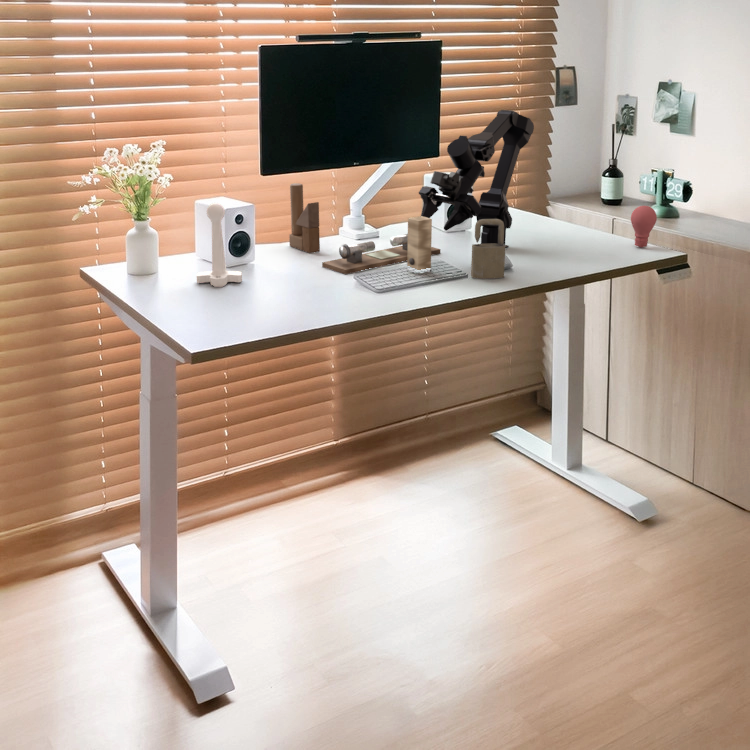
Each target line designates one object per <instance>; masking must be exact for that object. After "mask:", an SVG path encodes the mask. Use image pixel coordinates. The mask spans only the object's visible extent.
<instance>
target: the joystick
mask: <svg viewBox="0 0 750 750" xmlns="http://www.w3.org/2000/svg"><path fill="white" fill-rule="evenodd" d="M225 214H226V211H225V208H224V206H223V205H222V204H220V203H218V202H214V203H213V202H212V203H211V204H209V205H208V207H207V208H206V215H207V217H208V219H209V220H210V223H211V270H210V271H199V272H197V273H196V282H197V284H200V283H201V284H202V283H210V285H211V286H212V285H213V286H214V288H222V287H225V286H226V285H227V283H242V282H243V272H242V271H237V270H227V262H226V257H225V256H226V255H225V246H224V245H225V244H224V237H223V229H222V220H223V218H224V217H225ZM213 286H212V287H213Z"/></svg>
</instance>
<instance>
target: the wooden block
mask: <svg viewBox="0 0 750 750" xmlns="http://www.w3.org/2000/svg"><path fill="white" fill-rule="evenodd" d="M289 193H290V195H289V197H290V222H291V223H290V224H291V233H289V236H288V238H289V247H292V248H295V249H298V250H301V251H303V252H304V253H308V254H314V252H315V253H319V252H320V251H321V250H320V249H321V245H320V244H321V243H320V239H321V238H320V205H319V204H320V203H319V202H318V201H315V202H310V203H307V204H306V206H305V207H304V185H303V183H300V182H296V183H295V182H294V183H290V185H289Z"/></svg>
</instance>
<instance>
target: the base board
mask: <svg viewBox="0 0 750 750" xmlns="http://www.w3.org/2000/svg"><path fill="white" fill-rule="evenodd" d="M439 254H441V249H440V248H437V247H434V246H431V256H434V255H439ZM407 255H408V251H407V250H403V245H398V246H393V247H389V248H384V249H381V250H380V249H379V250H376V251H375V250H374V251H369V252H365V253H362V262H361V263H356V264H354V263H351V262H348V261H347V259H343V258H342V257H341V258H337V259H333V260H332V259H331V260H328V261H323V262H322V263H321V266H322V268H325V269H328V270H331V271H334V272H337V273H340V274H343V275H348V274H349V275H350V274H353V273H358V271H359V272H362V271H361V270H363V271H366V270H365V269H368V270H370V269H369V268H372V269H376V268H375V267H377V268H380V267H386V266H389V265H394V263H395V264H398V262H399V263H403V262H402V261H404V262H407V261H406V260H407Z"/></svg>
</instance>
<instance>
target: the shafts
mask: <svg viewBox="0 0 750 750" xmlns="http://www.w3.org/2000/svg"><path fill="white" fill-rule="evenodd" d="M389 242H390V245H391V246H392V247H399V246H403V250H407V251H408V233H405V234H401V235H397V236H395V235H394V236H392V237H390V239H389ZM375 250H376V244H375V242H374V241H372V240H371V241H367V242H360V243H356V244H351V245H348V244H347V243H343V244H340V246H339V249H338V253H339V255H340V257H341V258H343V259H347V261H348V262H351V263H354V264H356V263H361V262H362V254H365V253H370V252H375Z"/></svg>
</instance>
